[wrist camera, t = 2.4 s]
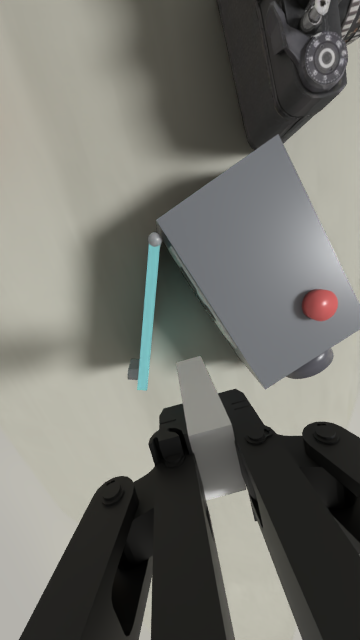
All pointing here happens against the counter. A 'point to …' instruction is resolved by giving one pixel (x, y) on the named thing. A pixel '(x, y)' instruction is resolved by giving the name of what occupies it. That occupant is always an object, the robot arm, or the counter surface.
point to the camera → (287, 59)
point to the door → (147, 315)
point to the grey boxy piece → (264, 266)
